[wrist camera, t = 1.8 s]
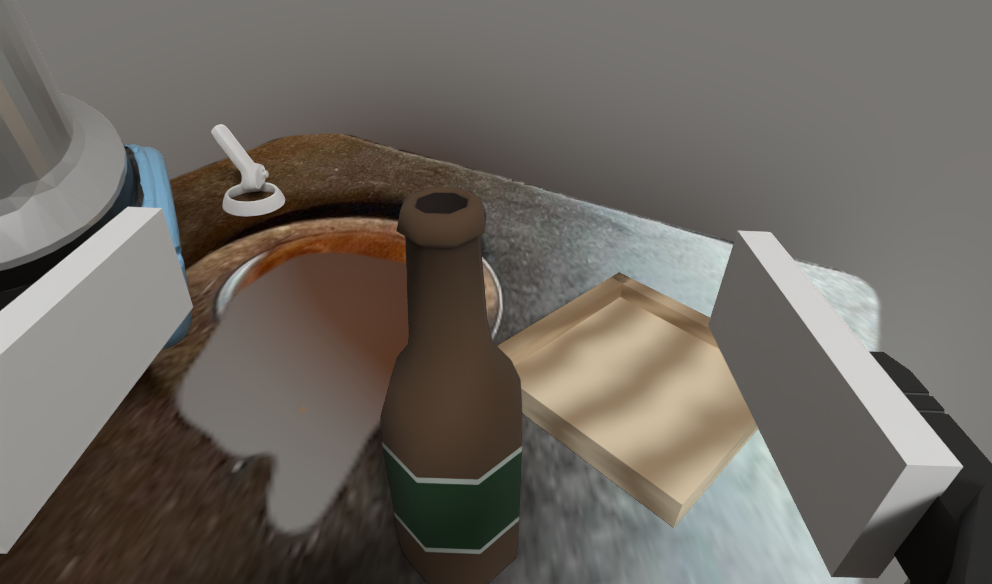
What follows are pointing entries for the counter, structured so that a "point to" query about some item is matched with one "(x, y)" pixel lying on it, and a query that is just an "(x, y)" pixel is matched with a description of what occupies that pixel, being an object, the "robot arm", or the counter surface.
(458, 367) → the beer bottle
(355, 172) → the counter surface
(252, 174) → the white ring with handle
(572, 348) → the wooden tray
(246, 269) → the counter surface
